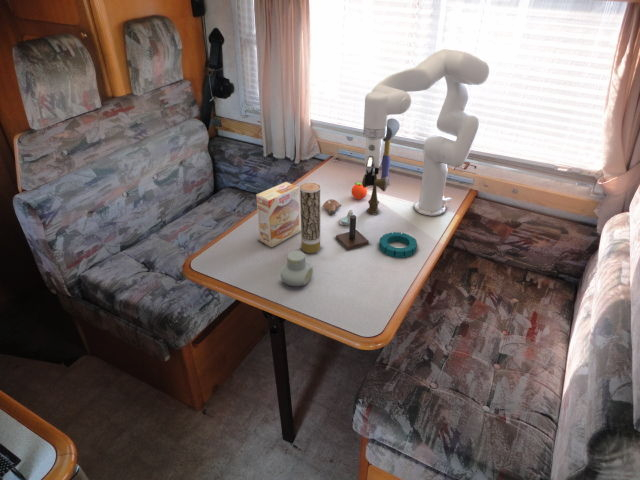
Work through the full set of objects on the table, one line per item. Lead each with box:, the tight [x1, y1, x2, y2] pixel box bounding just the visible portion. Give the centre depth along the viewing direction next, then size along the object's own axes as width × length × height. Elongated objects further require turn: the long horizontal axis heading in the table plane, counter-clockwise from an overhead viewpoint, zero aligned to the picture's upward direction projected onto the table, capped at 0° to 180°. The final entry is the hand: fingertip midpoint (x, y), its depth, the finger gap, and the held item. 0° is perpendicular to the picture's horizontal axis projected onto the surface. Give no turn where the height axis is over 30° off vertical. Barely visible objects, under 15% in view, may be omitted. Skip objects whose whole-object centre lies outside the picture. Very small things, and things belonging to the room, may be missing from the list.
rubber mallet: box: [380, 117, 401, 183], centre depth 201 cm, size 12×8×30 cm, turn 156°
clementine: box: [350, 182, 368, 200], centre depth 195 cm, size 8×7×7 cm
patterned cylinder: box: [299, 182, 321, 254], centre depth 156 cm, size 7×7×25 cm
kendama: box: [361, 174, 389, 215], centre depth 180 cm, size 6×10×20 cm, turn 69°
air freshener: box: [279, 250, 314, 287], centre depth 144 cm, size 11×8×10 cm
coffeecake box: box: [255, 181, 300, 248], centre depth 164 cm, size 15×7×20 cm, turn 137°
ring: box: [379, 231, 418, 259], centre depth 162 cm, size 13×13×3 cm
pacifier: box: [338, 209, 358, 226], centre depth 177 cm, size 7×6×6 cm
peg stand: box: [335, 214, 370, 251], centre depth 164 cm, size 9×9×10 cm
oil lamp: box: [322, 198, 342, 216], centre depth 186 cm, size 9×4×8 cm
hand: (371, 179), depth 156 cm, fingers open, 9 cm apart
